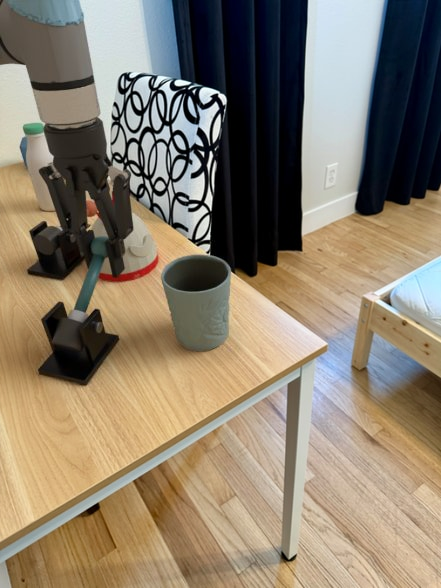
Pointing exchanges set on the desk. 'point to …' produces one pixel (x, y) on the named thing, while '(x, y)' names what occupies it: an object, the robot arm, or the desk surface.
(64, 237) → the back stand
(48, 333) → the front stand
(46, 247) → the terracotta lever
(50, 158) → the milk bottle
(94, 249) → the ball top lever
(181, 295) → the grey green cup
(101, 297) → the desk surface
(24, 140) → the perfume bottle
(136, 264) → the kitchen timer
